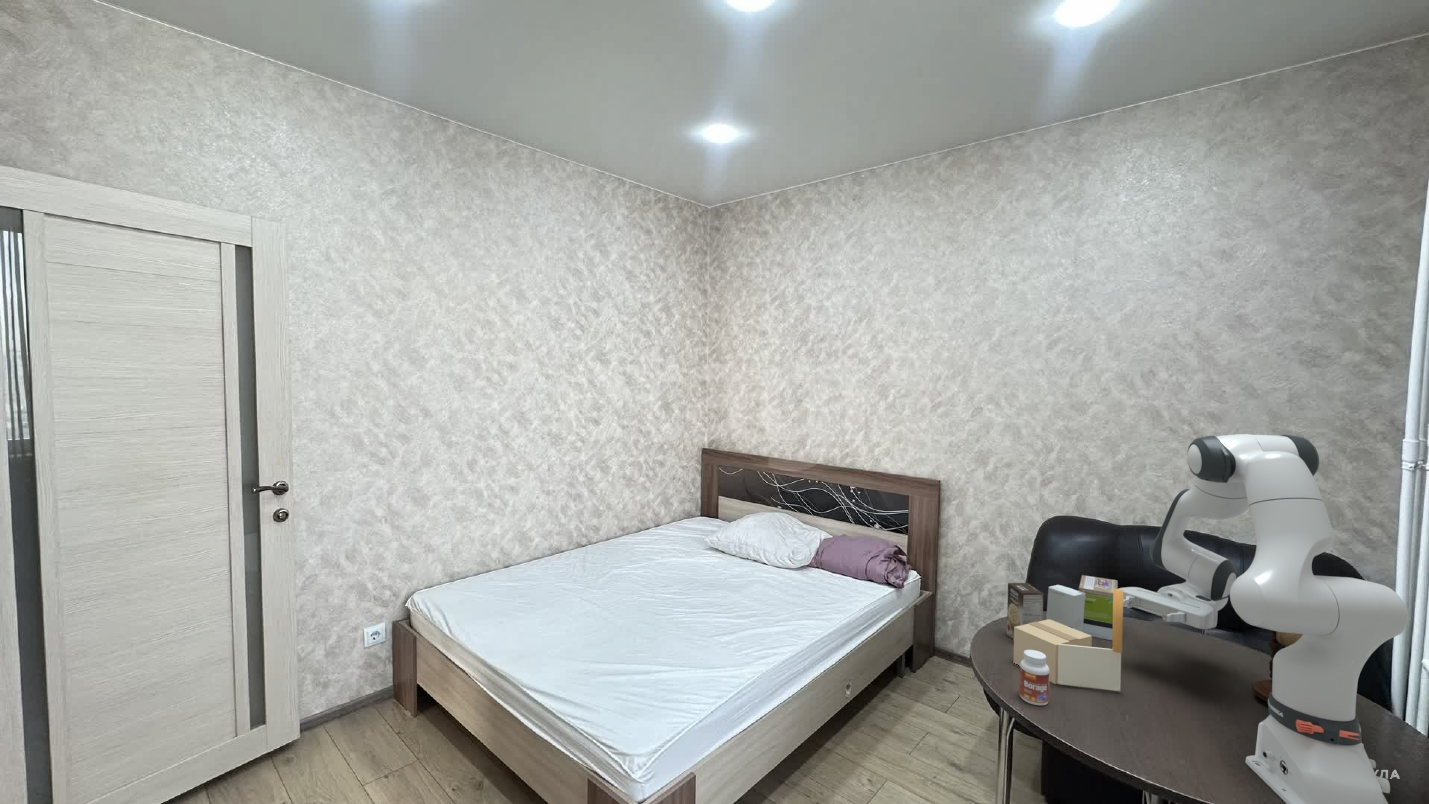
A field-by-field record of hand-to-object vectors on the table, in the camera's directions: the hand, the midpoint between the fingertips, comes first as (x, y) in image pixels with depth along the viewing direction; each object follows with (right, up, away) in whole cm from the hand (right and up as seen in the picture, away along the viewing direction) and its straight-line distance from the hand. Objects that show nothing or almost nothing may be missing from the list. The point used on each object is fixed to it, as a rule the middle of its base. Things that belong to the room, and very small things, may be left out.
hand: (1144, 610), depth 144 cm
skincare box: (-3, -19, +29) cm, 34 cm away
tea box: (+12, -19, +35) cm, 41 cm away
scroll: (+29, -20, -9) cm, 36 cm away
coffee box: (-16, -19, +26) cm, 36 cm away
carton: (-18, -19, +9) cm, 28 cm away
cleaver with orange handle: (-15, -19, -2) cm, 24 cm away
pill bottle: (-31, -19, -6) cm, 37 cm away
